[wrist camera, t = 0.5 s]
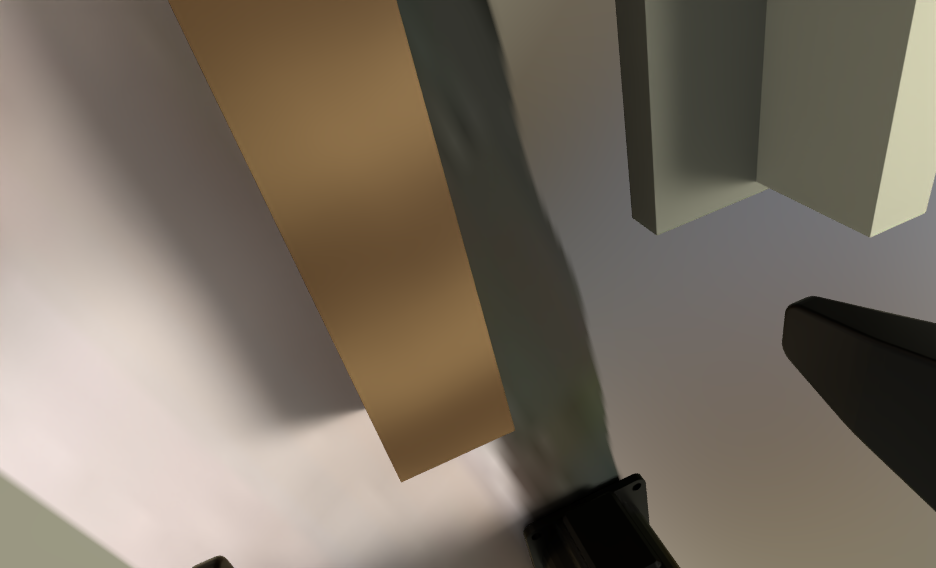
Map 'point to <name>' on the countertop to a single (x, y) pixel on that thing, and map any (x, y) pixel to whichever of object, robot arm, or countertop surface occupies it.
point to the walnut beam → (360, 208)
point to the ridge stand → (779, 107)
